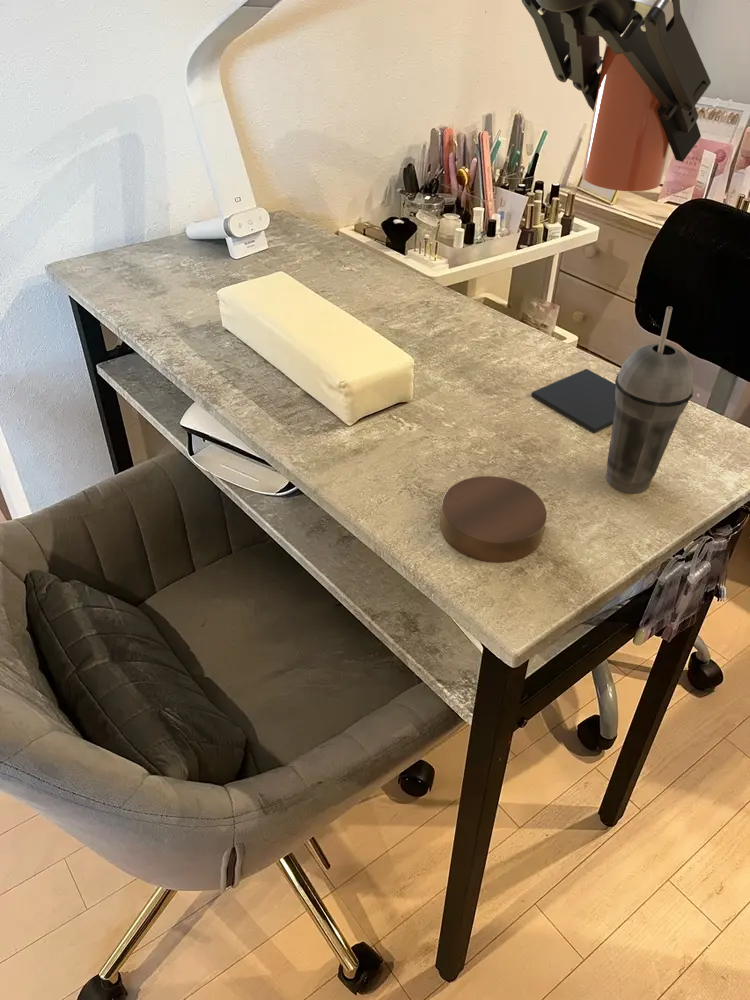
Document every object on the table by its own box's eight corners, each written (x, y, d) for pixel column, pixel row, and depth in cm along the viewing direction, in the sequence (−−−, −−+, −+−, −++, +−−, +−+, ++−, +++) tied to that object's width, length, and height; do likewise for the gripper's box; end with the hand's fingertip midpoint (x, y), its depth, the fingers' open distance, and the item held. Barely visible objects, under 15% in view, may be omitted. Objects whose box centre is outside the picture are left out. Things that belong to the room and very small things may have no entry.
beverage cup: (676, 482, 81) (735, 305, 69) (638, 511, 77) (692, 329, 65) (617, 452, 85) (662, 280, 73) (578, 478, 81) (618, 301, 69)
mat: (649, 406, 93) (650, 402, 92) (594, 433, 88) (595, 429, 88) (585, 372, 99) (586, 368, 99) (531, 396, 94) (531, 391, 94)
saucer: (564, 534, 74) (568, 515, 73) (489, 577, 70) (492, 557, 68) (492, 483, 81) (495, 464, 79) (419, 519, 76) (420, 500, 74)
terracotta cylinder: (676, 182, 72) (710, 47, 65) (627, 196, 68) (658, 55, 61) (615, 163, 76) (641, 35, 69) (566, 176, 73) (588, 42, 66)
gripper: (440, -39, 61) (548, 148, 79) (650, -14, 48) (721, 201, 66) (496, -125, 60) (592, 84, 78) (724, -121, 47) (776, 126, 65)
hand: (652, 138), depth 72 cm, fingers closed on terracotta cylinder, 7 cm apart
